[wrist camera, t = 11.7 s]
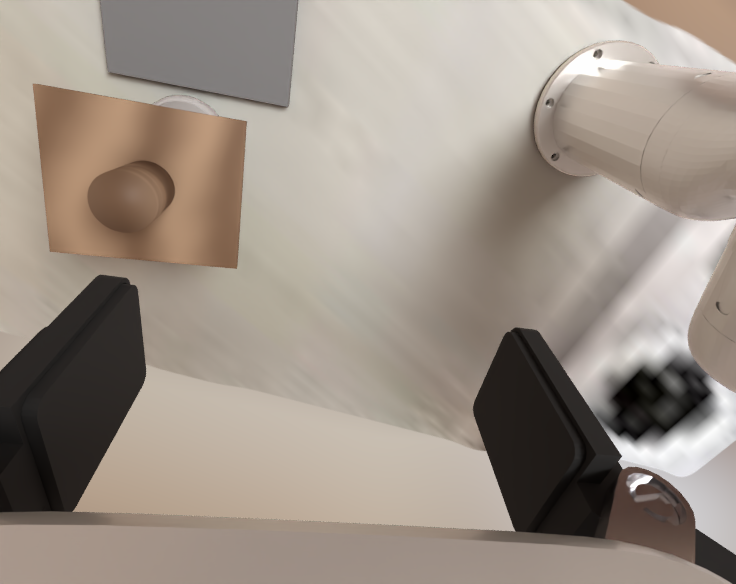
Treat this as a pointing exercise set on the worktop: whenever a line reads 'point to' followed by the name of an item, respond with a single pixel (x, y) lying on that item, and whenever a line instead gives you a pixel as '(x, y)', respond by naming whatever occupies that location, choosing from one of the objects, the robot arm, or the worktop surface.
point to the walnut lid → (139, 179)
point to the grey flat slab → (205, 44)
